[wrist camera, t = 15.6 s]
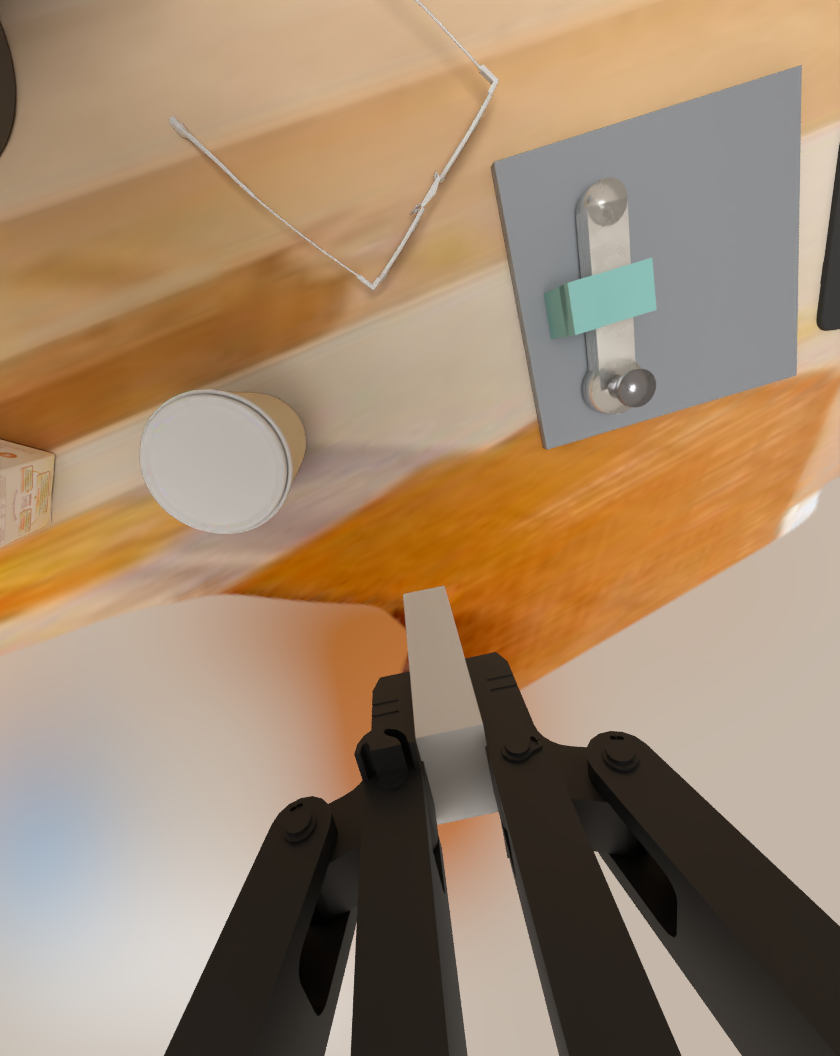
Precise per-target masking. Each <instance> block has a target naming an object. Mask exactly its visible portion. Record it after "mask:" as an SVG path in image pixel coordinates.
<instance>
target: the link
mask: <svg viewBox="0 0 840 1056" xmlns="http://www.w3.org/2000/svg"><path fill="white" fill-rule="evenodd" d="M576 225H577V237H578V249H579V261H580V273H581V279H582V278H585V277H588V276H592V275H597V274H600V273H603V272H606V271H610V270H613V269H616V268H619V267H623V266H626V265H629V264H631V258H630V237H629V216H628V197H627V191H626V188H625V186H624V185H623V183H622V182H621V181H620V180H618V179H617V178H614V177H605V178H603V179H601V180H599V181H598V182H596V183H595V184H594V185H593V186H592V187H591V188H590V189H588V190H587V191H586V192H585V193H584V194H583V195H582V196H581V198H580V199H579V201H578V203H577V207H576ZM585 333H586V345H587V357H588V369H589V371H588V372H587V374H586V376H585V378H584V381H583V386H582V393H583V397H584V400H585V402H586V403H587V405H588V406H589V407H590V408H592V409H593V410H596V411H599V412H603V413H608V414H621V413H624V412H626V411H628V410H630V409H631V408H632V407H634V408H635V407H641V406H643V405H645V404H646V403H648V402H649V401H650V400H651V399H652V397H653V395H654V393H655V390H656V380H655V377H654V375H653V374H652V373H651V372H650V371H648V370H646V369H641V367H640V366H639V365H638V364H637V363H636V362H635V342H634V321H633V317H632V318H628V319H625V320H622V321H619V322H615V323H612V324H609V325H605V326H602V327H601V328H597V329H594V330H591V331H587V332H585Z"/></svg>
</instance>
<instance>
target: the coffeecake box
mask: <svg viewBox="0 0 840 1056" xmlns="http://www.w3.org/2000/svg"><path fill="white" fill-rule="evenodd" d="M54 459H55V455H54V454H52V453H49V452H45V451H42V450H38V449H34V448H31V447H27V446H23V445H19V444H15V443H12V442H8V441H4V440H0V547H2V546H4V545H7V544H9V543H11V542H13V541H15V540H17V539H19V538H21V537H23V536H25V535H28V534H30V533H32V532H34V531H36V530H38V529H40V528H42V527H44V526H46V525H49V524H50V523H51V510H52V497H51V495H52V483H53V476H54Z"/></svg>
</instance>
